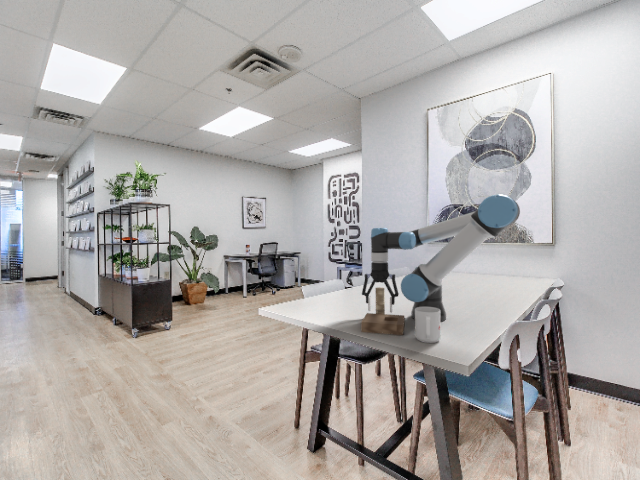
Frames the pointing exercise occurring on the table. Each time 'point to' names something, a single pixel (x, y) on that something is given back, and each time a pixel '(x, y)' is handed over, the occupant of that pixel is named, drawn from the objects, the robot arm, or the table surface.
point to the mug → (427, 324)
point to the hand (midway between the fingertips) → (380, 311)
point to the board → (383, 324)
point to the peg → (380, 300)
